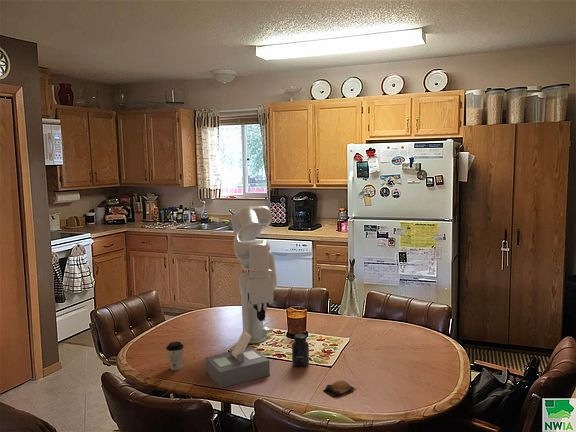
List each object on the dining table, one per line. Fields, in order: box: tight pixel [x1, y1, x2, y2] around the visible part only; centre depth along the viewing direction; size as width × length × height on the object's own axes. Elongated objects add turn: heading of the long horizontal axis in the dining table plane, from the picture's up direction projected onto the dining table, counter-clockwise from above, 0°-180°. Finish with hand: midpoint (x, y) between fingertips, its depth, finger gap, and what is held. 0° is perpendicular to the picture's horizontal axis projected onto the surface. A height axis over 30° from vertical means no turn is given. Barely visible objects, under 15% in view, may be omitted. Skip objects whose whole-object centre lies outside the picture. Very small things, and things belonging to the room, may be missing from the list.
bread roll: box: [322, 379, 357, 399], centre depth 173 cm, size 11×8×4 cm
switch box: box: [205, 346, 271, 389], centre depth 189 cm, size 20×16×9 cm
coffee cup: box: [165, 341, 184, 371], centre depth 197 cm, size 7×7×10 cm
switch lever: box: [231, 330, 251, 359], centre depth 190 cm, size 2×5×10 cm
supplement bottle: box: [291, 333, 310, 368], centre depth 196 cm, size 7×7×12 cm
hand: (261, 320), depth 192 cm, fingers closed
